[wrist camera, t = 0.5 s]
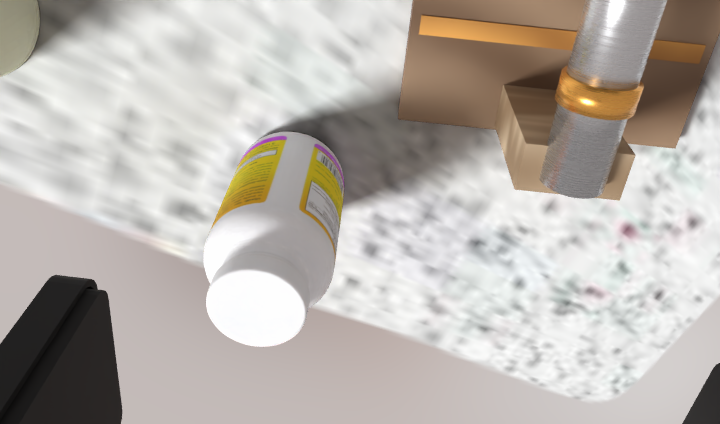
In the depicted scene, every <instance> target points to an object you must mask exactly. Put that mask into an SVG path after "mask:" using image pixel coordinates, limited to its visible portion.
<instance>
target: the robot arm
mask: <svg viewBox="0 0 720 424" xmlns="http://www.w3.org/2000/svg"><path fill="white" fill-rule="evenodd" d="M115 356H116V355H115V347H114V339H113V332H112V323H111V316H110V307H109V300H108V294H107V292H106V291H104V290H98V289H97V284H96V283H95V281H94V280H92V279H84V278H77V277H68V276H60V275H54V276H52V277H51V278H49V280H48V281H47V282H46V283H45V284H44V286H43V287H42V288H41V290H40V291H39V293H38V294H37V295H36V297H35V298H34V299H33V301H32V302H31V304H30V305H29V306H28V307H27V309H26V310H25V311H24V313H23V314H22V316H21V317H20V318H19V320H18V321H17V322H16V324H15V325H14V327H13V328H12V329H11V330H10V332H9V333H8V334H7V336H6V337H5V339H4V340H3V341H2V343H1V344H0V424H121V419H122V405H121V396H120V388H119V380H118V372H117V364H116V357H115ZM682 424H720V363H719V364H717V365H716V366H715V367H714V368H713V370H712V372H711V373H710V375H709V377H708V379H707V380H706V382H705V384H704V386H703V388H702V390H701V392H700V393H699V395H698V397H697V398H696V400H695V402H694V404H693V406H692V407H691V409H690V411H689V413H688V415H687V416H686V418H685V420H684V422H683V423H682Z"/></svg>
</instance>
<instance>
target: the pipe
mask: <svg viewBox="0 0 720 424" xmlns="http://www.w3.org/2000/svg"><path fill="white" fill-rule="evenodd" d="M666 3H667V0H585V4H584V8H583V11H582V15H581V19H580V23H579V26H578V30H577V34H576V38H575V41H574V45H573V49H572V52H571V56H570V60H569V64H568V66H565V67H564V68H563V69H562V71H561V75H560V79H559V83H558V86H557V90H556V94H555V100H556V101H557V102H558V105H557V108H556V112H555V116H554V120H553V123H552V127H551V131H550V134H549V138H548V142H547V144H548V148H547V151H546V155H545V159H544V162H543V166H542V170H541V173H540V177H539V179H540V181H541V182H542V184H543V185H545V186H546V187H547V188H549V189H551V190H552V191H554V192H557V193H559V194H562V195H565V196H569V197H574V198H595V197H598V196H600V195H601V194H602V193H603V192H604V189H605V186H606V183H607V180H608V177H609V174H610V171H611V168H612V165H613V162H614V159H615V156H616V153H617V150H618V147H619V144H620V141H621V138H622V135H623V132H624V129H625V126H626V123H627V120H628V119H629V118H631V117H633V116H634V114H635V112H636V109H637V106H638V103H639V100H640V97H641V94H642V91H643V88H644V85H643V83H642V82H641V78H642V75H643V72H644V69H645V66H646V63H647V60H648V57H649V54H650V51H651V48H652V45H653V42H654V39H655V36H656V33H657V30H658V27H659V24H660V21H661V18H662V15H663V12H664V9H665V6H666Z"/></svg>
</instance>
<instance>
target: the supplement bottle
mask: <svg viewBox="0 0 720 424" xmlns="http://www.w3.org/2000/svg"><path fill="white" fill-rule="evenodd" d="M343 197H344V175H343V171H342V168H341V165H340V163H339V161H338V159H337V158H336V156H335V155H334V153H333V152H332V151H331V150H330V149H329V148H328V147H327V146H326V145H325V144H323V143H322V142H320V141H319V140H317V139H315V138H313V137H311V136H308V135H305V134H302V133H297V132H278V133H273V134H270V135H267V136H265V137H263V138H261V139H259V140H257V141H256V142H255V143H254V144H252V145H251V146H250V147H249V148H248V150H247V151H246V152H245V154H244V155H243V157H242V159H241V161H240V163H239V165H238V167H237V170H236V172H235V174H234V177H233V179H232V181H231V183H230V186H229V188H228V190H227V193H226V195H225V197H224V200H223V202H222V204H221V207H220V209H219V211H218V214H217V216H216V218H215V221H214V223H213V225H212V228H211V230H210V232H209V234H208V237H207V240H206V243H205V248H204V267H205V271H206V275H207V277H208V279H209V282H210V287H209V290H208V293H207V298H206V305H207V311H208V314H209V317H210V319H211V320H212V322H213V324H214V325H215V326H216V327H217V328H218V329H219V330H220V331H221V332H222V333H223V334H225V335H226V336H228V337H229V338H231V339H233V340H235V341H237V342H239V343H243V344H246V345H250V346H258V347H264V346H273V345H278V344H282V343H284V342H286V341H288V340H290V339H291V338H293V337H294V336H295V335H296V334H297V333H298V332H299V331H300V330H301V328H302V327H303V325H304V323H305V320H306V317H307V312H308V308H310V307H312V306H313V305H314V304H315V303H317V302H318V301H319V300H320V299H321V298H322V296H323V295H324V294H325V292H326V291H327V289H328V287H329V285H330V282H331V280H332V276H333V272H334V266H335V259H336V251H337V243H338V235H339V228H340V221H341V212H342V205H343Z"/></svg>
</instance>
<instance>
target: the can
mask: <svg viewBox="0 0 720 424" xmlns="http://www.w3.org/2000/svg"><path fill="white" fill-rule="evenodd" d="M39 26H40V15H39V6H38V1H37V0H0V77H2V76H4V75H7V74H9V73H11V72H13V71H14V70H16V69H17V68H19V67H20V66H21V65H22V64H23V63H24V62H25V61H26V60H27V59H28V57H29V56H30V55H31V53H32V51H33V49H34V47H35V44H36V42H37V38H38V35H39Z"/></svg>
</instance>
